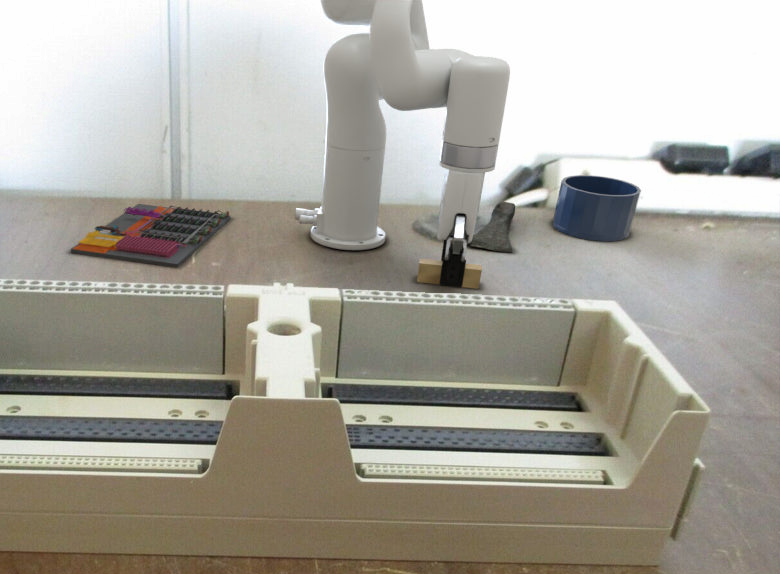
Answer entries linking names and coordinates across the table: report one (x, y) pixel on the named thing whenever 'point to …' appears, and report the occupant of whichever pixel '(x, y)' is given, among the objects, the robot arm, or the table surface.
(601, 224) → the blue open cylinder
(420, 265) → the wooden rectangular block
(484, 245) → the tool
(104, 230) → the circuit board
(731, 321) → the table surface
